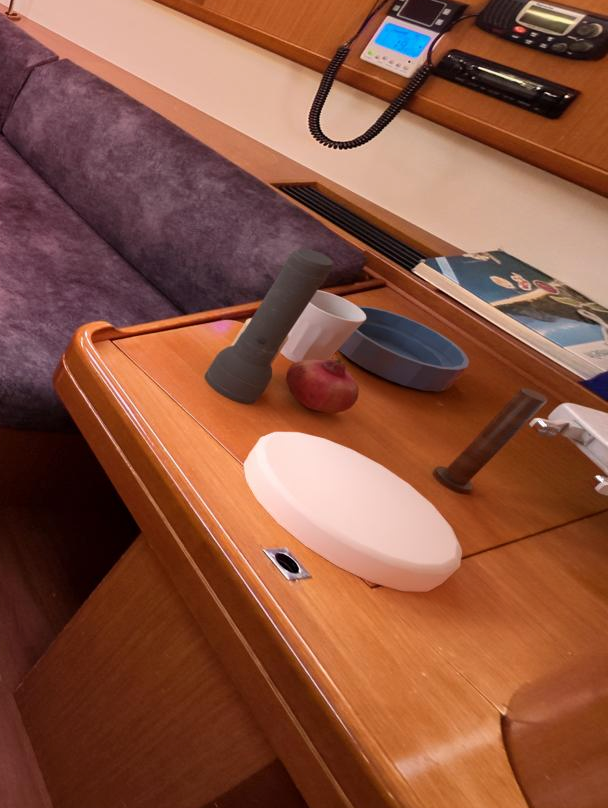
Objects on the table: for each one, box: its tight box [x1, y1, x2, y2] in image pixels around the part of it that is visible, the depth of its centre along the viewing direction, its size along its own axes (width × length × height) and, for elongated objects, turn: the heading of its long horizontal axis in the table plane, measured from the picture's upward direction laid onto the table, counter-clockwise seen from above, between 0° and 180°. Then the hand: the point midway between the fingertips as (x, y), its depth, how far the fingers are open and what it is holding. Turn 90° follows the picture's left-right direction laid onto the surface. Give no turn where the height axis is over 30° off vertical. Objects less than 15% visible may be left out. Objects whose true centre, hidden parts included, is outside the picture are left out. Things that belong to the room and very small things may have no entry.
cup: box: [279, 289, 366, 364], centre depth 110 cm, size 8×8×12 cm
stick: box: [432, 387, 549, 495], centre depth 87 cm, size 4×4×18 cm
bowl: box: [337, 305, 470, 392], centre depth 111 cm, size 15×15×6 cm
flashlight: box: [204, 247, 334, 405], centre depth 99 cm, size 7×28×7 cm
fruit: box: [285, 358, 360, 414], centre depth 101 cm, size 8×8×10 cm
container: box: [242, 431, 463, 593], centre depth 85 cm, size 20×20×5 cm
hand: (564, 452), depth 84 cm, fingers open, 8 cm apart
